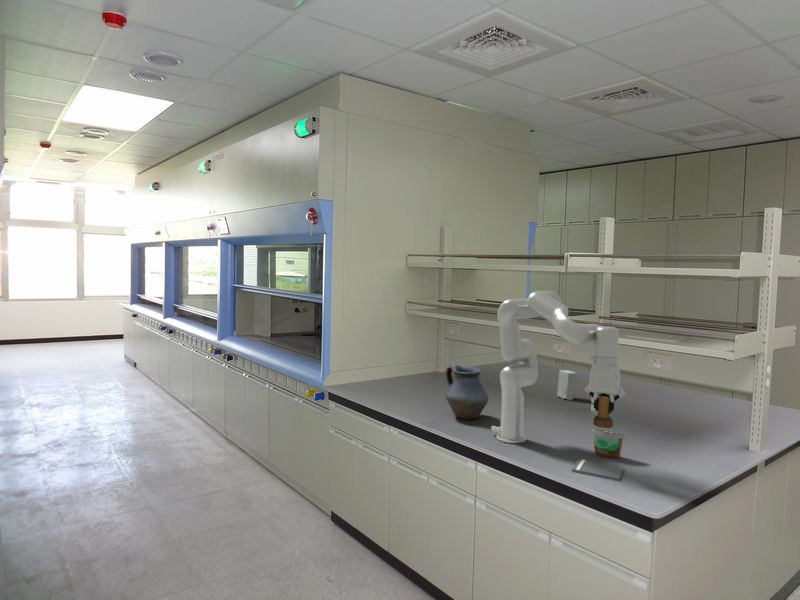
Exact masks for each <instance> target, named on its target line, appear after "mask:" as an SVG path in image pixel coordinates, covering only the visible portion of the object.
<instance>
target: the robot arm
mask: <svg viewBox="0 0 800 600" xmlns="http://www.w3.org/2000/svg"><path fill="white" fill-rule="evenodd" d="M499 305H500V306H498V309H497V323H498V327H499V335H500V347H501V348H500V350H501V351H500V352H501V356H502V358H503V360H504V361H505V362H508V363H514V362H515V363H516V362H518V364H513V365H512V364H511V365H508V366H505V367H503V368H502V369H501V371H500V374H499V382H500V390H501V397H500V399H501V402H500V403H501V405H500V425H499V426H496V425H491V428H490V430H491V431H492V432H493V433H496V439H497V440H499V441H500V442H504V443H509V444H522V443H525V442H526V441H527V435H525V434H524V419H525V395H524V393H523V389H522V388H523V387H529V386H533V385H534V384H535V383H536V382H537V381H538V378H539V377H538V376H539V371H538V370H539V369H538V358H537V357H538V355H537V348H536V346H535V344H534V342H533V341H532V340H531V339H528V338H522V335H521V328H520V325H519V324H518V322H517V320H518V319H519V320H520V319H521V320H522V319H534V318H538V317H542V318H544V319H545V320H547V321H548V322H550V323H551V324H552V325H553V328H554V330H555V332H556V333H557V334H558V335H559V336H560V337H561V338H563V339H565V341H567V342H568V343H571V344H573V345H576V346H585V345H595V350H594V355H593V356H590V361H593V363H592V364H591V367H590V372H589V373H590V375H589V382H588V384H587V385H586V386H585V387H584V389H583V390H584V392H586V393H587V394H589V395H590V397H591V398H592V399H593V408H594V411H595V412H598V396H599V394H602V393H605V394H608V395H610V402H609V414H611V413H613V412H614V411H615V402H616V401H617V400H619V398H620V399H621V398H622V397H624V396H625V395H626V391H625V390H624V389H623V387H622V386H621V371H620V366H619V365H618V357H619V356H618V353H619V352H618V351H619V336H620V335H619V331H620V330H619V329H618V328H617V327H615V326H606V325H600V324H596V323H583V324H582V323H581V324H578V323H577V322H575V321H573V320H571V319H570V318H568V316H569V308H568V306H566V304H563V303H562V299H561V297H560V295H559V294H558V293H557V292H555V291H553V290H536V291H533V292H532V293H530V294H529V295H528V298H510V299H506V300H505V301H503V302H502V303H501V304H499Z"/></svg>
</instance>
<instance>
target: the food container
mask: <svg viewBox="0 0 800 600" xmlns="http://www.w3.org/2000/svg"><path fill="white" fill-rule="evenodd" d="M591 434H593V443H594V445H593V446H594V447H593V448H594V453H595V454H594V455H596V454H597V455H596V456H598V455H599V456H598V457H601V458H606V459H617V458H620V457H621V451H622V445H623V439H624V438H626V436H625V432H624V431H622V432H620V433H618V432H614V431H611V430H606V429H603V430H602V429H595V427H593V428H592V430H591Z"/></svg>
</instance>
